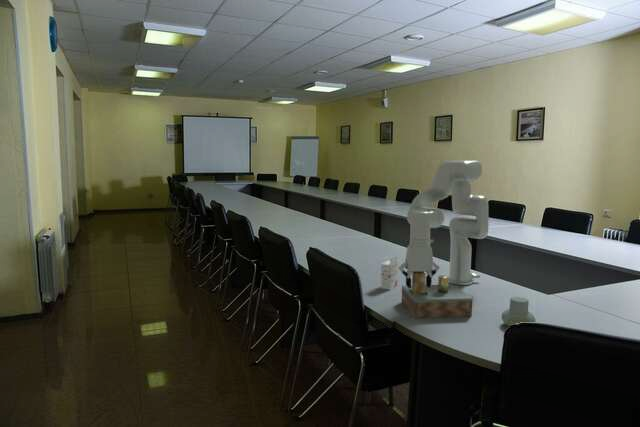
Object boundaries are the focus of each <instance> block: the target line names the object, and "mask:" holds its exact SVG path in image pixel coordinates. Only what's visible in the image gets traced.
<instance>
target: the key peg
mask: <svg viewBox="0 0 640 427" xmlns="http://www.w3.org/2000/svg"><path fill="white" fill-rule="evenodd" d="M426 276H427V273H426V272H413V273H412V274H411V286H412V294H413V295H425V285H426Z"/></svg>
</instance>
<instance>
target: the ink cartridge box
mask: <svg viewBox="0 0 640 427" xmlns="http://www.w3.org/2000/svg"><path fill="white" fill-rule="evenodd" d="M398 264H399V261H398V255H394V256H392V257H390V259H388V260H386V261H384V262H382V263H381V264H380V265H381V266H380V270H381V271H380V288H381V290H382V289H383V290H388V291H391V290H393V289H394V288H396V287H398V273H399V272H398V270H399V267H398V266H399V265H398Z"/></svg>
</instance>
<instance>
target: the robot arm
mask: <svg viewBox="0 0 640 427" xmlns="http://www.w3.org/2000/svg"><path fill="white" fill-rule="evenodd" d="M482 165H483V164H482V163H481V162H480V161H478V160H472V159H471V160H470V159H469V160H465V159H464V160H463V159H462V160H459V159H458V160H456V159H455V160H454V159H452V160H446V161H442V162H441V163H440V164H439V165H438V167H437V168H436V172H435V174H434V176H433V178H432V180H431V184H430V186H429V187H428V188H426V189H424V190H423V191H421V192H420V193H419V194H417V195H416V196H415V197H414V198H413V199H412V202H411V204H410V205H409V209H408V211H407V215H406V218H407V219H406V220H407V222H408V223H409V225H410V228H409V229H410V230H409V231H410V232H409V233H410V234H409V245H407V247H406V252H405V260H404V262H403V263H402V264H400V265H399V267H398V270H399V271H400V272H401V273H402V275H403V276H404V277H405V286H407V287H408V288H411V286H412V273H413V272H424V273H425V274H426V279H425V285H426V286H427V287H429V288H430V285H432V278H433V277H434V276H435V275H436V274H437V272H438V271H439V270H440V266H439V265H438V264H437V263H435V262H434V256H433V249H432V245H431V244H433V243H434V239H432V238H431V229H438V228H440V227H441V226H442V225H443V224H444V222H445V216H444V213H443V211H442V210H440V209H437V208H429V207H427V208H426V206H427V205H429V204H431V203H435V202H439V201H443V200H444V199H446V198H448V197H449V196H450V194H451V204H452V205H451V208H452V211H453V213H454V214H456V215H462V216H454V217H453V218H451V219H450V221H449V224H448V227H449V228H448V229H449V235H450V250H449V251H450V254H449V255H450V256H449V276H448V277H449V284H454V285H455V286H457V285H458V286H469V285H473V283H474V279H480V278H481V274H479V273H476V274H475V273H472V272H471V266H472V243H471V242H470V240H469V238H470V239H478V240H482V239H485V238H486V237H487V236H488V233H489V202H488V199H487V197H485V196H484V195H478V194H476V195H474V194H473V193H472V184H471V182H472V181H473V182H474V181H477V180H479V179H480V178H481V175H482V173H483V167H482ZM467 216H469V217H467ZM470 216H471V217H470ZM473 216H474V217H473ZM404 269H406V270H407V271H405V270H404Z"/></svg>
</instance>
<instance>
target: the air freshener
mask: <svg viewBox="0 0 640 427" xmlns="http://www.w3.org/2000/svg"><path fill="white" fill-rule="evenodd" d="M501 320H502V321H503V324H505V325H506V326H508V327H510V326H509V325H511V324H515V323H520V322H535V323H536V317H535V315H533V313H531V312H530V311H529V300H528V299H527V298H526V297H525V298H524V297H520V296H513V297H511V298H510V300H509V308H507V309H505V310H504V311H503V312H502V313H501Z"/></svg>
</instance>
